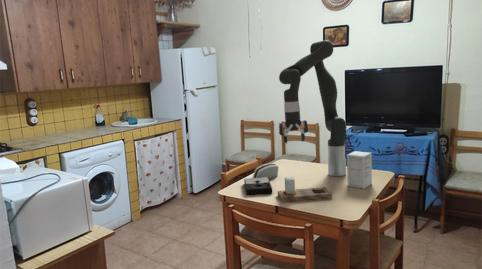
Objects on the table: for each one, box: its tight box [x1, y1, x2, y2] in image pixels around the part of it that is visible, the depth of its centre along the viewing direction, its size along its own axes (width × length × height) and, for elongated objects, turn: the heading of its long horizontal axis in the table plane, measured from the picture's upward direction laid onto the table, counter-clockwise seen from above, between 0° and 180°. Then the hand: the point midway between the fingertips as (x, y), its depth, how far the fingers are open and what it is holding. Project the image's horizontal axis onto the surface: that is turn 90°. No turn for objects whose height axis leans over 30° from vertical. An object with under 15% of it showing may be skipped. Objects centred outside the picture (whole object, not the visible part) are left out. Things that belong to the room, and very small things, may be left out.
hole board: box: [277, 186, 333, 204], centre depth 176 cm, size 24×10×3 cm, turn 95°
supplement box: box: [346, 150, 373, 189], centre depth 188 cm, size 10×9×17 cm
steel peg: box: [284, 176, 296, 196], centre depth 175 cm, size 4×4×10 cm
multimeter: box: [243, 177, 273, 197], centre depth 192 cm, size 13×19×5 cm
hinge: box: [251, 162, 279, 180], centre depth 208 cm, size 17×5×10 cm, turn 128°
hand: (294, 142), depth 184 cm, fingers open, 8 cm apart
